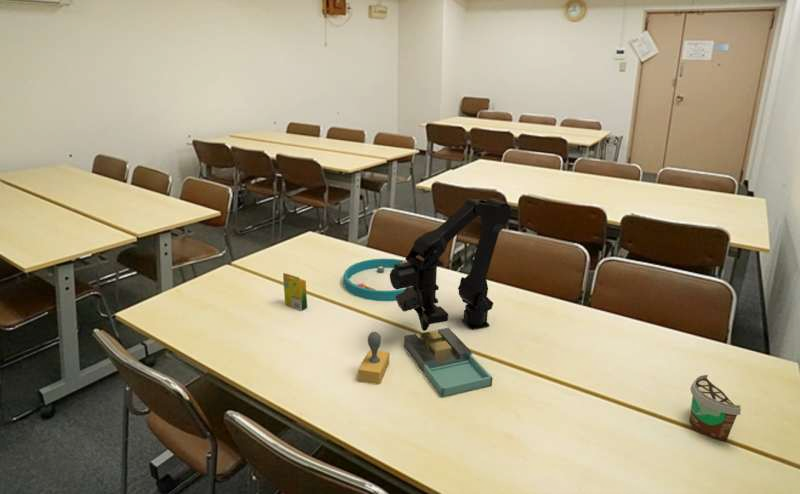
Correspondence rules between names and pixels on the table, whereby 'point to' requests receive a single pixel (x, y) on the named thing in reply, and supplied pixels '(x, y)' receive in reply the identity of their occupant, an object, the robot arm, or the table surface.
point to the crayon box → (295, 292)
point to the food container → (711, 410)
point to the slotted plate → (426, 357)
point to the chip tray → (458, 377)
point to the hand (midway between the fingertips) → (424, 330)
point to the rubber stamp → (374, 361)
